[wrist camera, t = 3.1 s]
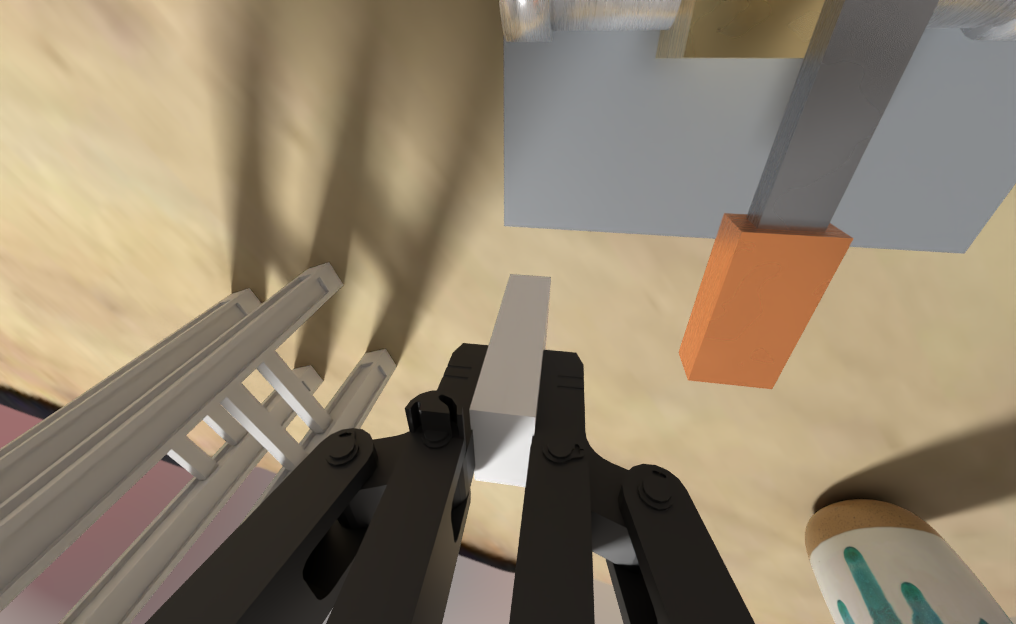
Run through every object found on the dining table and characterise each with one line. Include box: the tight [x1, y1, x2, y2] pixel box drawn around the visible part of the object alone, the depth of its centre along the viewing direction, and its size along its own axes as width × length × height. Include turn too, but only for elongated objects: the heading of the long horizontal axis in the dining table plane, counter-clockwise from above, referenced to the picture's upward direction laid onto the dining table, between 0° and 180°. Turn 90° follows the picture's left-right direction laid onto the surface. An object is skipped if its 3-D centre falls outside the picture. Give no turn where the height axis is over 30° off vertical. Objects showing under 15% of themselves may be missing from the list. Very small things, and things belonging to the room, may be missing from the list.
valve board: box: [504, 28, 1016, 253], centre depth 17 cm, size 26×22×2 cm
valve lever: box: [679, 0, 939, 389], centre depth 12 cm, size 4×16×2 cm, turn 0°
